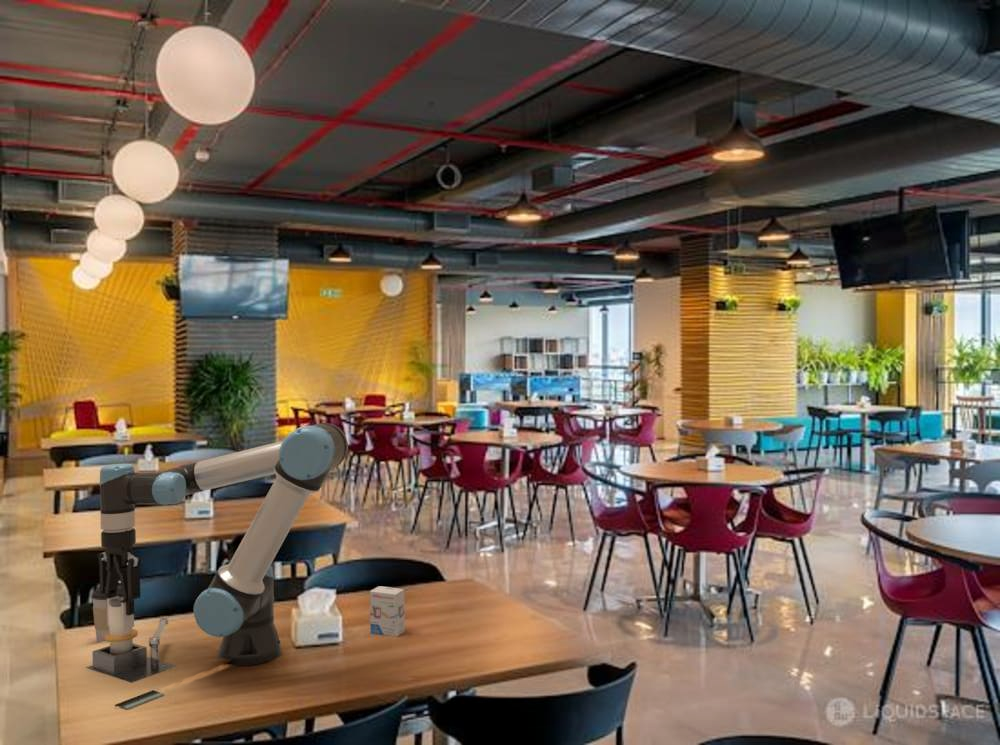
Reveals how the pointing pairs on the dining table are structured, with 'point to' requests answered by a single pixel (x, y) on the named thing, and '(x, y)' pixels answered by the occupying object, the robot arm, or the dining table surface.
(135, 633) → the plug
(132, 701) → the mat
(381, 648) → the dining table surface
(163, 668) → the grey open box fixture
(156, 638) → the grey metal lever
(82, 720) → the dining table surface
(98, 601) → the coffee cup
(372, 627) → the ink box
